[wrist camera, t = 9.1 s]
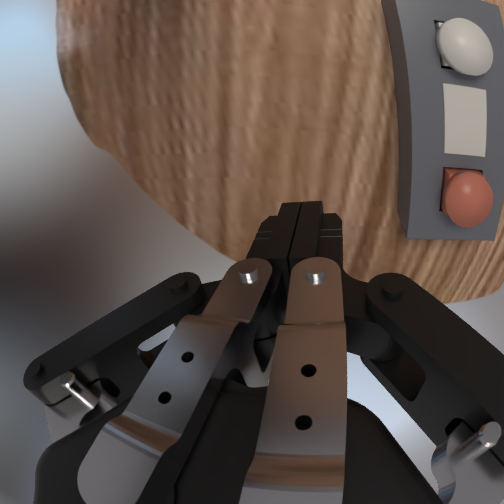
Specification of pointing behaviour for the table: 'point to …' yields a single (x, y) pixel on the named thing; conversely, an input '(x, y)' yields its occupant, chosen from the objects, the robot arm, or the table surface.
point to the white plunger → (463, 47)
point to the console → (444, 115)
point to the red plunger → (465, 196)
